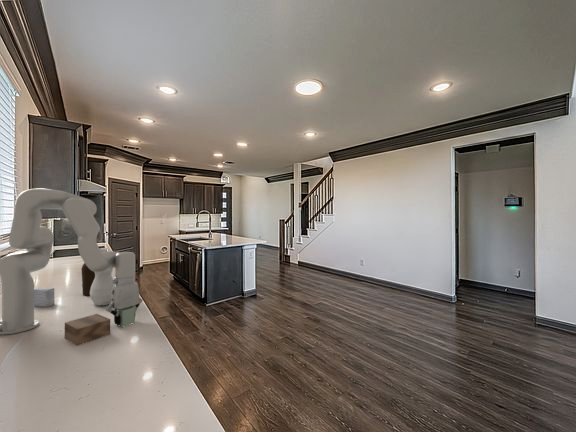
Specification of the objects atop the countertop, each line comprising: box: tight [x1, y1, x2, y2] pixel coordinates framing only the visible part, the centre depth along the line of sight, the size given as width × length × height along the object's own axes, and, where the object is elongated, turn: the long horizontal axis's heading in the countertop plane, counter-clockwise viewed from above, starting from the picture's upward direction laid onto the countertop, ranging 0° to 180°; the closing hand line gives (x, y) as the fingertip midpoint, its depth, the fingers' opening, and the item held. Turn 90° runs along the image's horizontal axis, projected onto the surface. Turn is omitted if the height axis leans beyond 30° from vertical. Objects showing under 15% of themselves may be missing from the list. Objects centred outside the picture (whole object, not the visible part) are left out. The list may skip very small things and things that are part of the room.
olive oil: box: [81, 262, 95, 297], centre depth 159 cm, size 11×11×25 cm
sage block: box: [119, 307, 136, 328], centre depth 117 cm, size 5×6×7 cm
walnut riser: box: [64, 313, 111, 347], centre depth 105 cm, size 11×11×6 cm
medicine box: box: [34, 287, 55, 308], centre depth 139 cm, size 8×4×9 cm, turn 84°
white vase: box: [89, 247, 115, 307], centre depth 143 cm, size 17×12×29 cm
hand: (125, 321), depth 117 cm, fingers open, 5 cm apart
